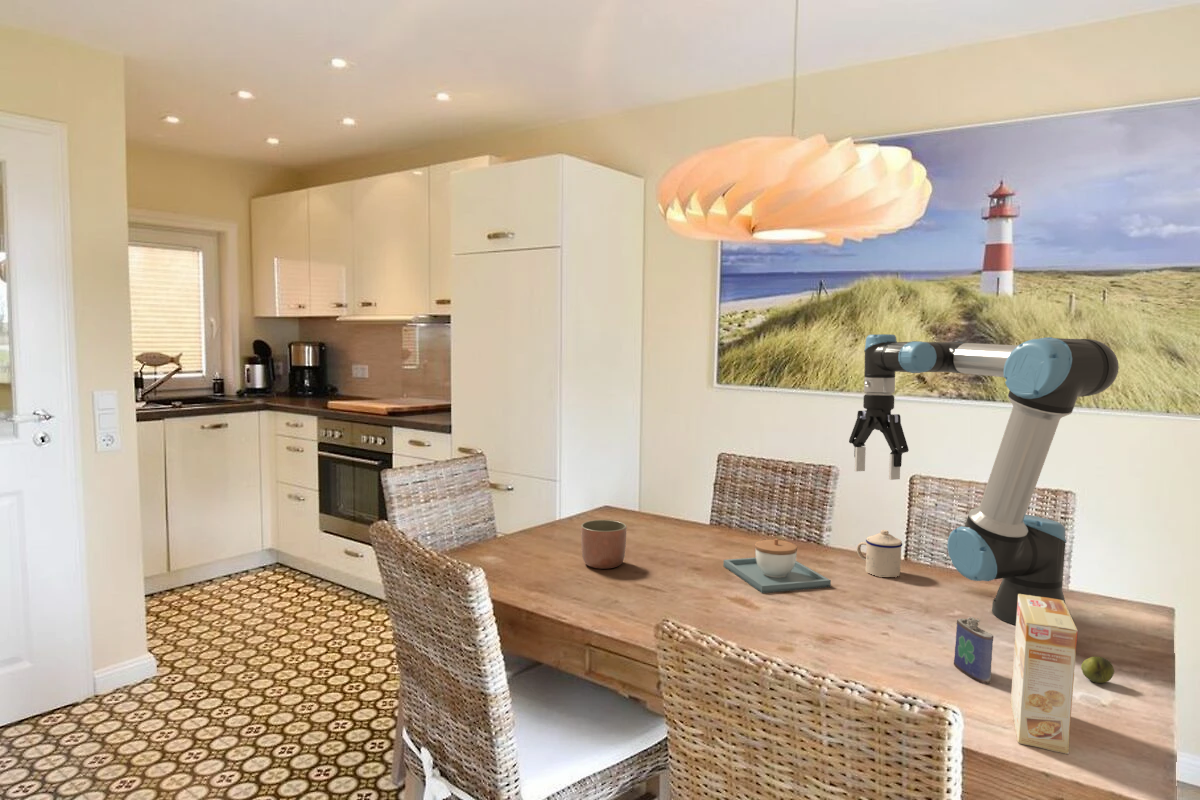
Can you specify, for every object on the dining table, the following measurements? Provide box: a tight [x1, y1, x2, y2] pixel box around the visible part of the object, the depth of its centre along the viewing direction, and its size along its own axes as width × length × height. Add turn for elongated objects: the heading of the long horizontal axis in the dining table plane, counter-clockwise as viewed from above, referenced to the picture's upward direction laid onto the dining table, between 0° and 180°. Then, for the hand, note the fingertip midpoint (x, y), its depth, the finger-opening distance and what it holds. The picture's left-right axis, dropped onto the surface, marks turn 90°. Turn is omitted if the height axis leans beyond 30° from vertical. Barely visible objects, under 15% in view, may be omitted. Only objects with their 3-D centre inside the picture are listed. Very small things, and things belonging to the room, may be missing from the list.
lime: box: [1080, 656, 1115, 684], centre depth 137 cm, size 4×5×5 cm
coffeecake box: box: [1010, 594, 1079, 755], centre depth 120 cm, size 15×7×20 cm, turn 155°
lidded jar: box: [754, 538, 798, 578], centre depth 195 cm, size 11×11×9 cm
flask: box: [953, 616, 994, 685], centre depth 140 cm, size 9×3×11 cm, turn 8°
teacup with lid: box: [856, 529, 903, 578], centre depth 200 cm, size 12×9×12 cm
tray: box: [722, 556, 831, 594], centre depth 196 cm, size 22×19×2 cm
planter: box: [580, 519, 627, 570], centre depth 204 cm, size 12×12×11 cm
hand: (876, 475), depth 196 cm, fingers open, 13 cm apart
